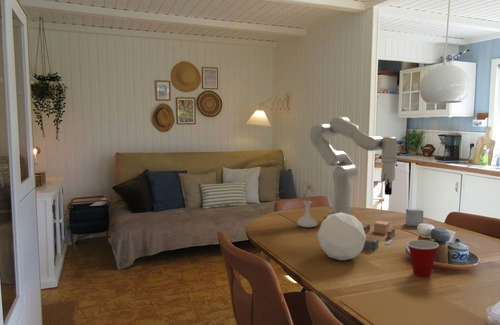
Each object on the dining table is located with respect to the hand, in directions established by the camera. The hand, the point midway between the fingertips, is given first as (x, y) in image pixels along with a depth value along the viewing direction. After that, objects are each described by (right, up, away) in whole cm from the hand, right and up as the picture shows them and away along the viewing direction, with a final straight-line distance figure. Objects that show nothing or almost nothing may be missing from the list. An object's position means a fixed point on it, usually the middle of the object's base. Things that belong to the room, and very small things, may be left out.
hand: (388, 194), depth 199 cm
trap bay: (-22, -21, -29) cm, 42 cm away
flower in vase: (-42, -18, +6) cm, 47 cm away
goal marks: (-14, -20, -18) cm, 30 cm away
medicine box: (+17, -18, +7) cm, 26 cm away
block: (-5, -19, -5) cm, 20 cm away
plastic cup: (-10, -25, -59) cm, 65 cm away
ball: (-36, -23, -42) cm, 60 cm away
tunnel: (-9, -19, -10) cm, 24 cm away
